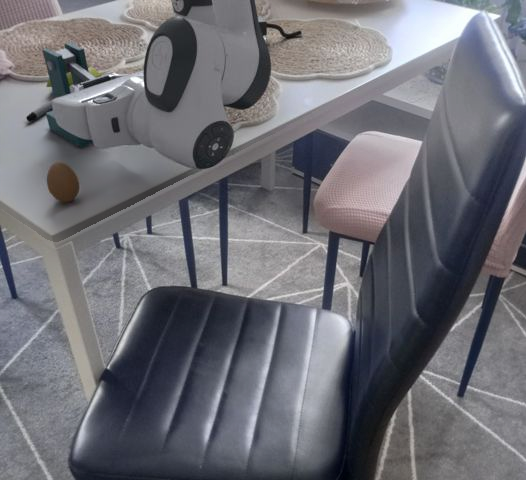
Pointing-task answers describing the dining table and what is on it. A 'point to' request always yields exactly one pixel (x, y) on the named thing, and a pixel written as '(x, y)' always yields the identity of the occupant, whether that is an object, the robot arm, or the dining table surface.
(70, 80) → the saucer
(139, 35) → the dining table surface
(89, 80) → the lever
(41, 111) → the pen
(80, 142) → the teal axle stand
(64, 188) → the egg
